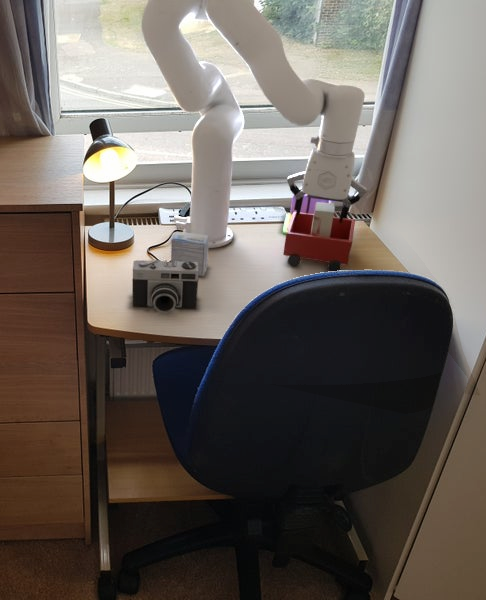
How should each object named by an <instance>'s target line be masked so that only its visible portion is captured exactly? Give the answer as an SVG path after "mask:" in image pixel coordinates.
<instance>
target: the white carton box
mask: <svg viewBox="0 0 486 600" xmlns="http://www.w3.org/2000/svg"><path fill="white" fill-rule="evenodd" d="M335 209H336V205H335V202H332V203H326V202H316V204H315V210H314V216H313V222H312V229H311V235H312V236H319V237H326V238H330V233H331V227H332V222H333V217H335Z"/></svg>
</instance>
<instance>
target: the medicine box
mask: <svg viewBox="0 0 486 600" xmlns="http://www.w3.org/2000/svg"><path fill="white" fill-rule="evenodd" d="M170 241H171V243H170V244H171V245H170V248H171V249H170V262H174V261H176V262H177V261H179V262H198V277H205V274H206V271H207V269H208V265H209V264H208V263H209V249H210V248H209V236H208V235H200V234H193V233H185V232H183V231H175V233H174V235H173V236H172V238H171V240H170Z"/></svg>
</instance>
